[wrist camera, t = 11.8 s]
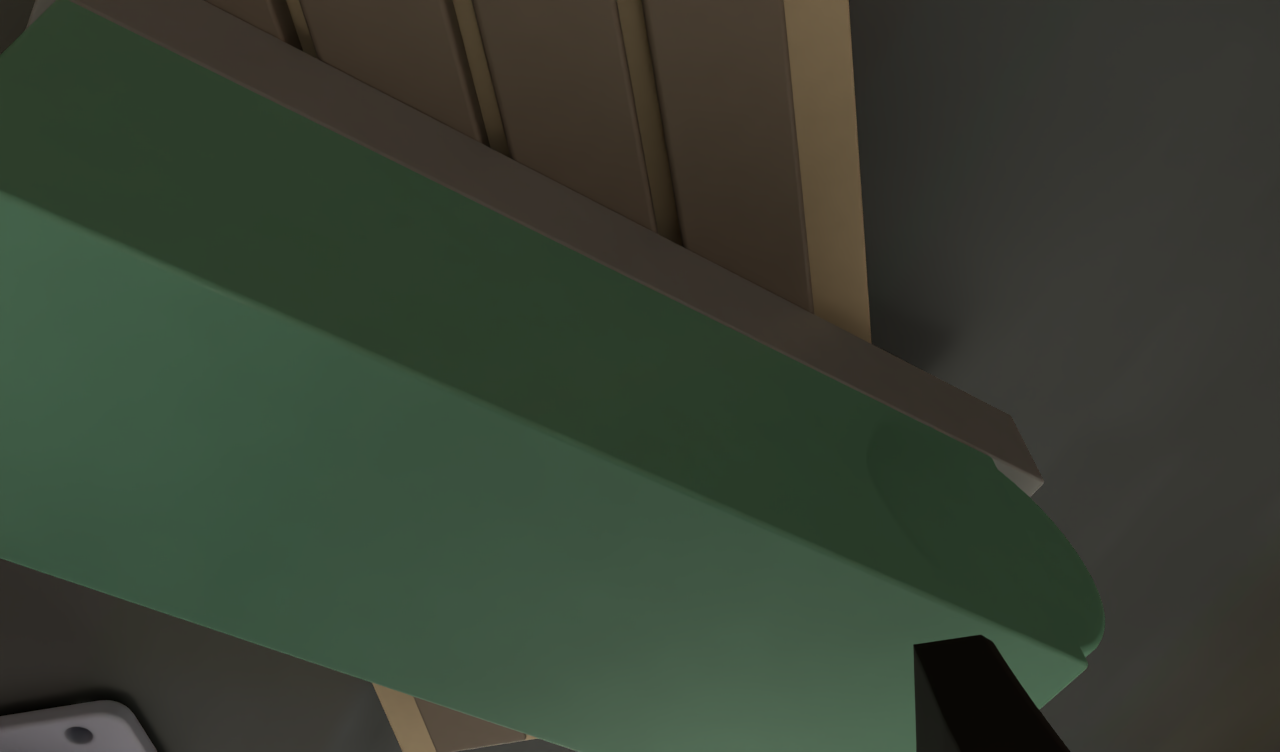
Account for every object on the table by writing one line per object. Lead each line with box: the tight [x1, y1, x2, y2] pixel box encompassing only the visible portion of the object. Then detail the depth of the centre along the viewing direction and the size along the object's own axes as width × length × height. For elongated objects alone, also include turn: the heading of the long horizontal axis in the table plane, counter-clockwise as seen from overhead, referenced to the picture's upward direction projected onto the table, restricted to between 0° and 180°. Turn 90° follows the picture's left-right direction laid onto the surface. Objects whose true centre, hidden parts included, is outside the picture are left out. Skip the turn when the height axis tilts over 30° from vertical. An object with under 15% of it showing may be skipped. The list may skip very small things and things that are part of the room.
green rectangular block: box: [0, 0, 1105, 752], centre depth 15 cm, size 14×4×5 cm, turn 59°
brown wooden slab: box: [204, 0, 872, 752], centre depth 18 cm, size 10×20×2 cm, turn 9°
